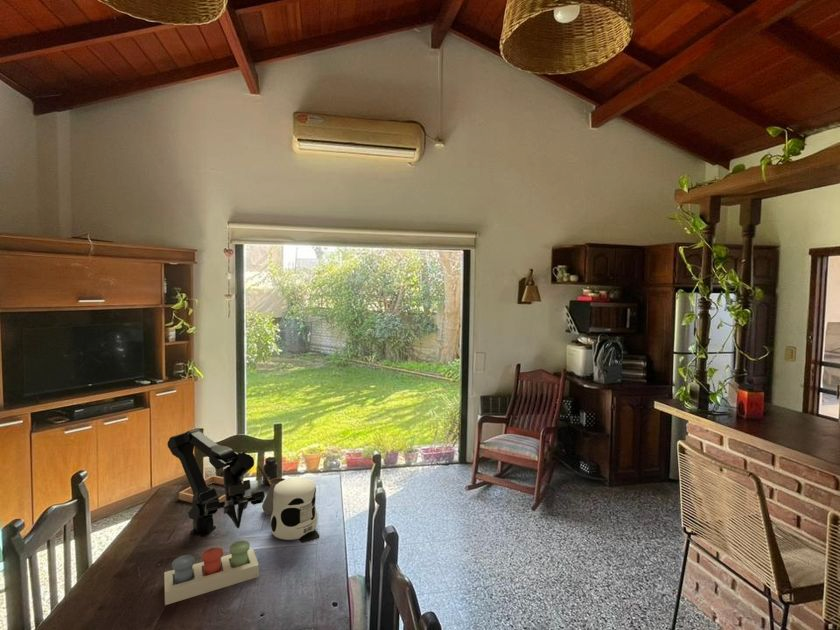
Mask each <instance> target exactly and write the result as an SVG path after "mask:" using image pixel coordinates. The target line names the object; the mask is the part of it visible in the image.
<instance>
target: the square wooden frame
mask: <svg viewBox="0 0 840 630" xmlns="http://www.w3.org/2000/svg"><path fill="white" fill-rule="evenodd" d="M204 480H205V482H206V484H209V485H211V484H218V485H223V486H224V479H223V476H220V475H219V476H218V475H213V474H212V475H211V476H209V477H206V478H204ZM242 484H243V481H242ZM193 495H194V494H193V491H192V488H191V486H189V487H187V488H185V489H183V490H181V491H179V492H178V500H179V501H182V502H183V501H184V502H188V503H191V504H192V500H193ZM224 501H226V497H225V494H223V495H221V496H220V497H219V503H220V502H224Z"/></svg>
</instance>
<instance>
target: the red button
mask: <svg viewBox="0 0 840 630" xmlns="http://www.w3.org/2000/svg"><path fill="white" fill-rule="evenodd" d="M223 556H224V550H223V549H222V548H221V547H211V548H208V549H206V550H205V551H203V552H202V554H201V561H202V562H204V575H205V576H208V575H211V574H215V573H218V572H220V571H221V557H223Z"/></svg>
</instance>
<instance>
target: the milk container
mask: <svg viewBox="0 0 840 630" xmlns="http://www.w3.org/2000/svg"><path fill="white" fill-rule="evenodd" d="M316 493H317V487H316V484H315V482H314V480H312V479H309V478H308V477H307V478H306V477H291V478H287V479H285V480H283V481H281V482H279V483H278V484H276V486H275V488H274V493H273V497H274V498H273V513H272V516H271V517H270V521H269V522H270V530H271V533H272V535H273V536H274V537H275V538H277V539H279V540H281V541H287V542H290V541H291V542H292V541H293V542H294V541H298V540H299V539H302V538H305V537H307V536H308V535H310V534H311V533H312V532H313V531H314V530H316V528H317V526H318V525H317V524H318V518H319V517H318V511H317V507H316V506H317V505H316V502H317V501H316V499H317V495H316Z"/></svg>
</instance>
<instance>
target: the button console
mask: <svg viewBox="0 0 840 630" xmlns="http://www.w3.org/2000/svg"><path fill="white" fill-rule="evenodd" d="M231 560H232V554H231V553H229V554H227V555H223V556H222V557H221V571H220V572H218V573H215V574H211V575H208V576H205V575H204V561H202V562H198V563H194V564H193V565H192V580H190V581H187V582H183V583H180V584H175V570H174V569H172V570H171V569H170V570H168V571H164V575H163V576H164V585H163V586H164V587H163V588H164V606H167V605H171V604H173V603H176V602H180V601H183V600H186V599H191V598H193V597H197V596H201V595H203V594H206V593H209V592H213V591H216V590H219V589H223V588H226V587H230V586H233V585H235V584H239V583H243V582H245V581H250V580H253V579H256V578H259V576H260V575H259V574H260V573H259V572H260V571H259V570H260V569H259V562H258V559H257V556H256V554H255V550H254V548H249V550H248V552H247V564H246V565H242V566H239V567H236V568H233V567H232V566H231Z"/></svg>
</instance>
